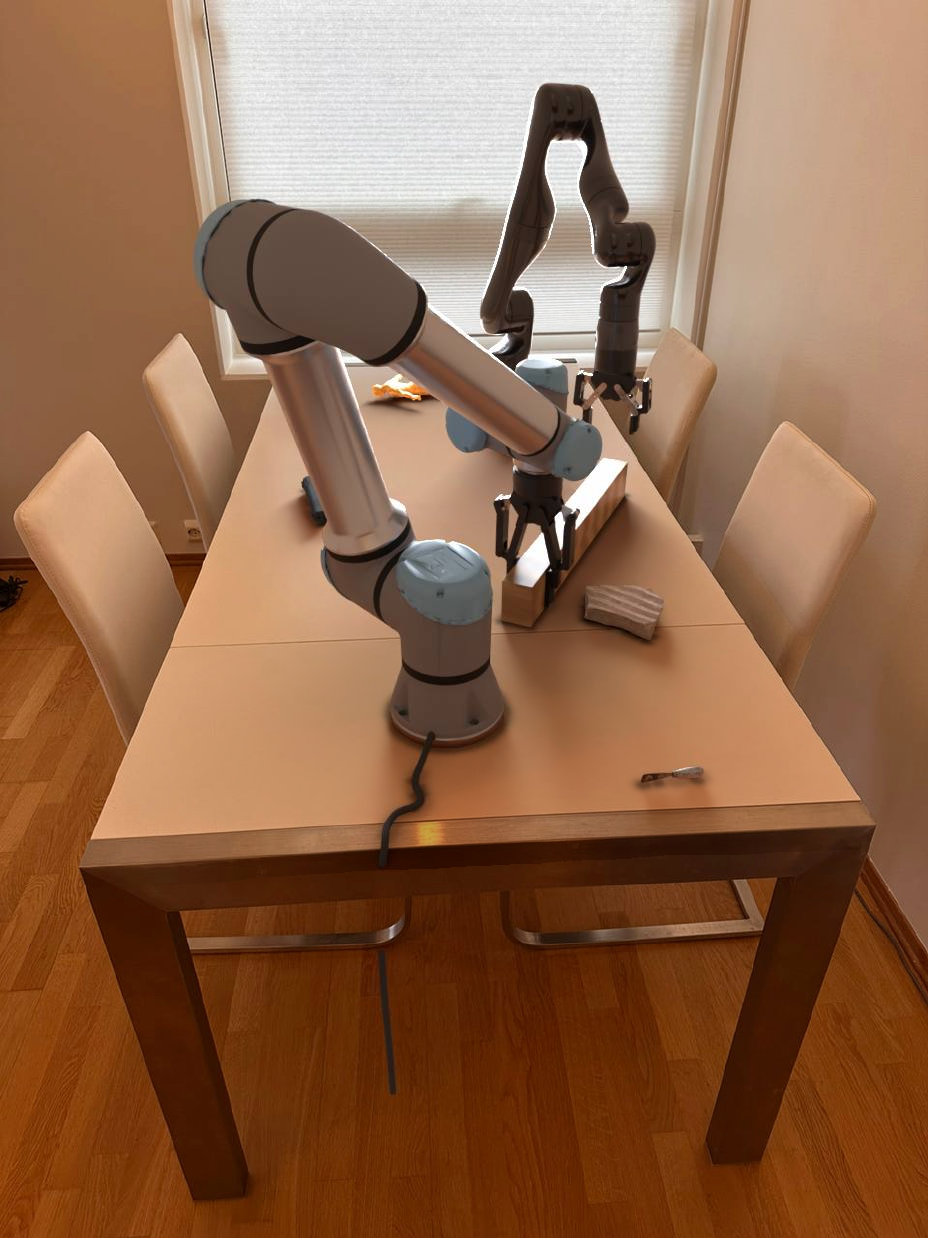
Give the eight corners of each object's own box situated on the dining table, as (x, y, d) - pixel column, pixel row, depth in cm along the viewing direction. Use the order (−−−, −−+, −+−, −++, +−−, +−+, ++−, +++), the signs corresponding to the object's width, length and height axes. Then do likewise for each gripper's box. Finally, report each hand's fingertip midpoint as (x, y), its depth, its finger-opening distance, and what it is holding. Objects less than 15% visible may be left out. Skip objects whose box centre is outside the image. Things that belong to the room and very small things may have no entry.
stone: (668, 604, 144) (670, 590, 143) (652, 641, 135) (653, 627, 134) (591, 589, 149) (592, 576, 147) (570, 625, 139) (570, 611, 138)
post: (530, 627, 139) (532, 587, 135) (500, 620, 141) (501, 580, 137) (624, 495, 181) (628, 461, 177) (601, 491, 183) (603, 457, 179)
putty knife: (703, 777, 109) (705, 767, 109) (642, 788, 108) (644, 777, 107) (700, 772, 110) (702, 762, 109) (639, 782, 109) (640, 771, 108)
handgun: (373, 518, 173) (311, 526, 170) (357, 482, 187) (300, 489, 184) (372, 503, 171) (309, 511, 168) (356, 468, 185) (298, 474, 182)
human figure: (365, 397, 234) (364, 383, 232) (408, 376, 248) (408, 362, 246) (428, 412, 226) (427, 396, 223) (468, 389, 240) (468, 374, 237)
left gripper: (603, 466, 133) (592, 600, 145) (491, 448, 139) (490, 578, 152) (588, 484, 127) (578, 622, 139) (472, 465, 133) (472, 599, 146)
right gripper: (661, 342, 160) (651, 429, 168) (584, 334, 165) (579, 419, 173) (650, 352, 154) (641, 442, 162) (572, 344, 159) (567, 432, 168)
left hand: (532, 599), depth 145 cm, fingers closed on post, 5 cm apart
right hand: (609, 430), depth 168 cm, fingers open, 8 cm apart
